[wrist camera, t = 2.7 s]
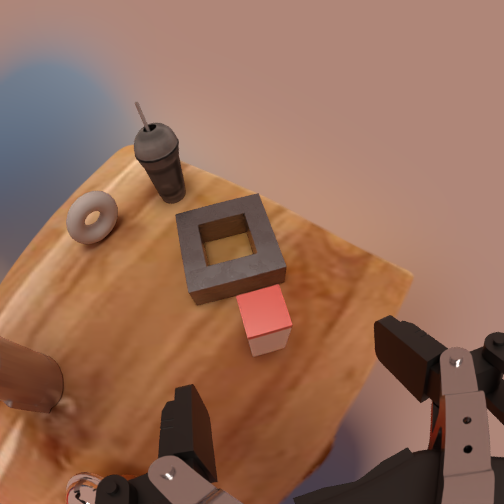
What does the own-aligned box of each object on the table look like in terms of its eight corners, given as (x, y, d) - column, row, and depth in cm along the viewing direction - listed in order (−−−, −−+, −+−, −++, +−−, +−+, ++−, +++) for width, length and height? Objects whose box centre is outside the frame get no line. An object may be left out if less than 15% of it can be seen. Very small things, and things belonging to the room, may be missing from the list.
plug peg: (284, 347, 37) (292, 324, 27) (252, 357, 37) (247, 337, 26) (275, 318, 39) (278, 284, 29) (244, 326, 39) (235, 296, 29)
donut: (120, 211, 50) (98, 175, 42) (129, 221, 49) (107, 185, 40) (81, 246, 47) (53, 214, 38) (88, 257, 46) (59, 226, 37)
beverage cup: (175, 215, 49) (138, 122, 32) (147, 200, 51) (107, 114, 34) (200, 187, 52) (177, 94, 34) (172, 175, 54) (144, 88, 37)
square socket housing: (284, 282, 42) (286, 266, 38) (197, 305, 41) (188, 292, 36) (259, 212, 48) (258, 193, 44) (183, 232, 47) (175, 214, 43)
